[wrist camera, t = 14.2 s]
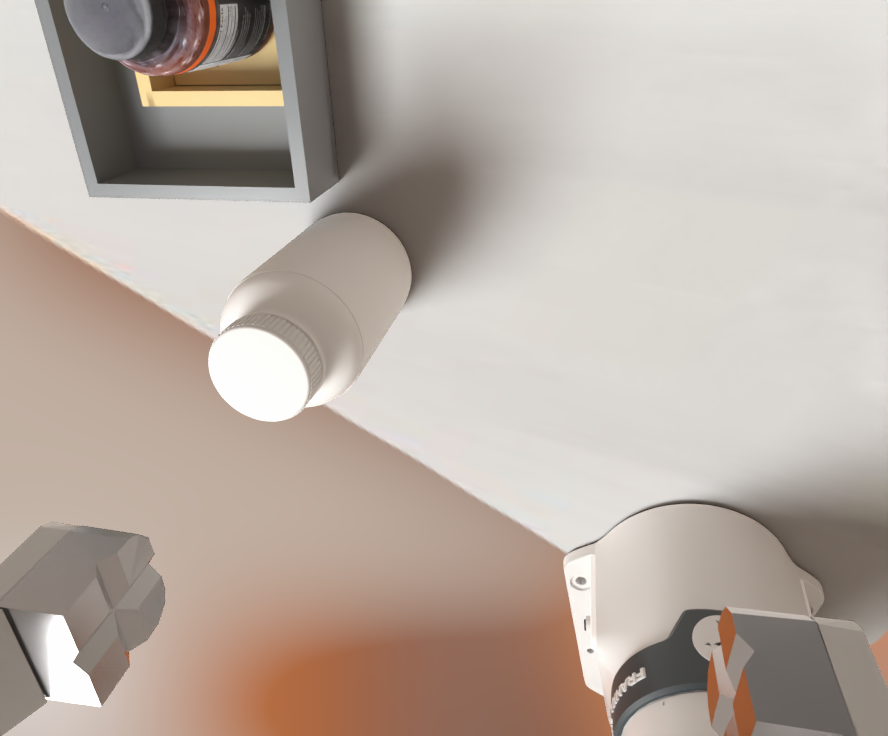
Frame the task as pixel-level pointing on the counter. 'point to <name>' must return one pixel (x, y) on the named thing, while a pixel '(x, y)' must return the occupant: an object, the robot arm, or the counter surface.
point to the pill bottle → (309, 317)
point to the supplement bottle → (172, 32)
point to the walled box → (203, 117)
